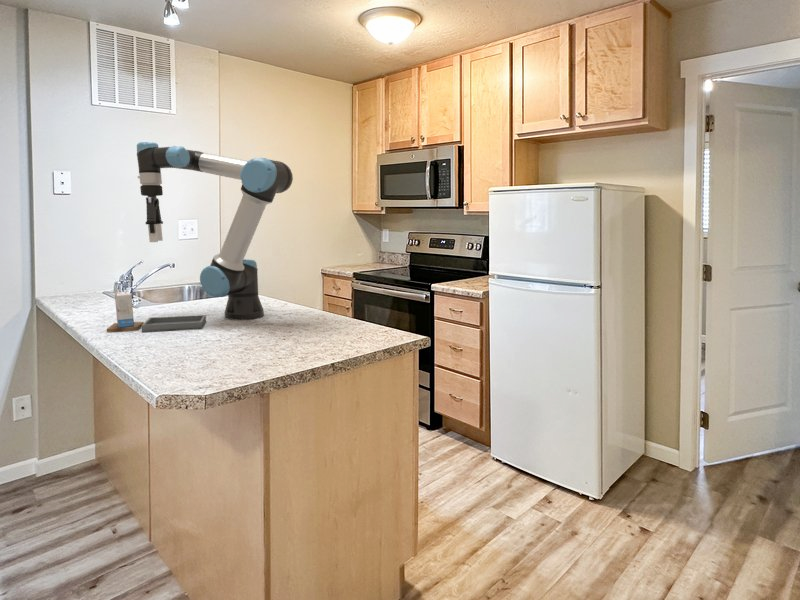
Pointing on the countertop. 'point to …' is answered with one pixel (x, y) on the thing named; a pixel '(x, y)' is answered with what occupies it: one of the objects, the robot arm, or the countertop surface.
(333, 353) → the countertop surface
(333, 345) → the countertop surface
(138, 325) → the board
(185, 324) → the tray
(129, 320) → the ink box
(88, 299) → the countertop surface
